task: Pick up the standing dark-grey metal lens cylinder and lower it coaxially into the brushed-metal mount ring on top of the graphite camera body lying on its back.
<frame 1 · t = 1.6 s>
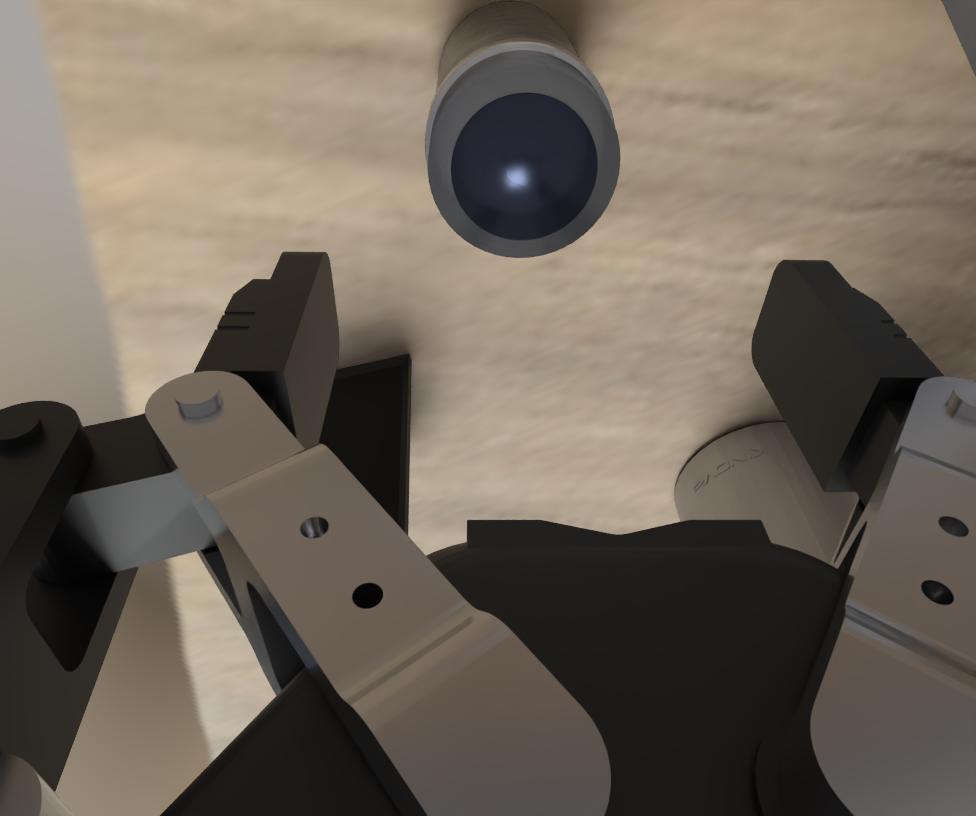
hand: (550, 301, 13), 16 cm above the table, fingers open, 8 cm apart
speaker: (368, 419, 35), on the table
lens: (507, 80, 25), on the table
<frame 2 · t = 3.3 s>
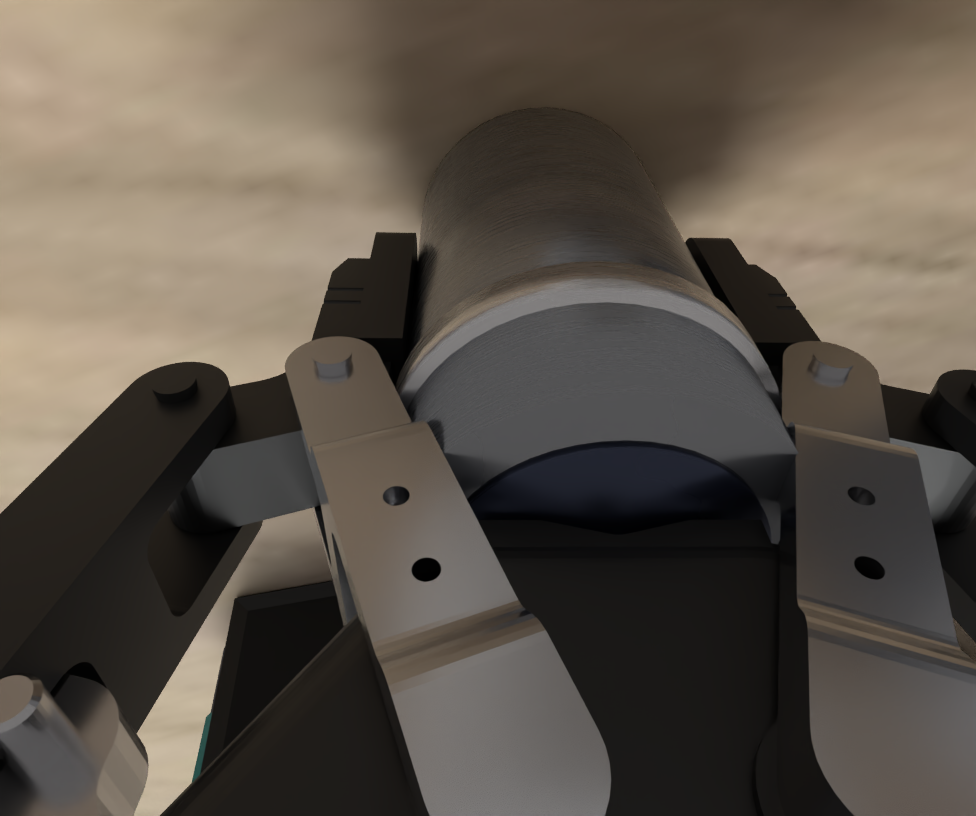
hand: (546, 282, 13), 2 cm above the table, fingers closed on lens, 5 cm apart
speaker: (330, 638, 25), on the table
lens: (537, 227, 15), on the table, touching gripper
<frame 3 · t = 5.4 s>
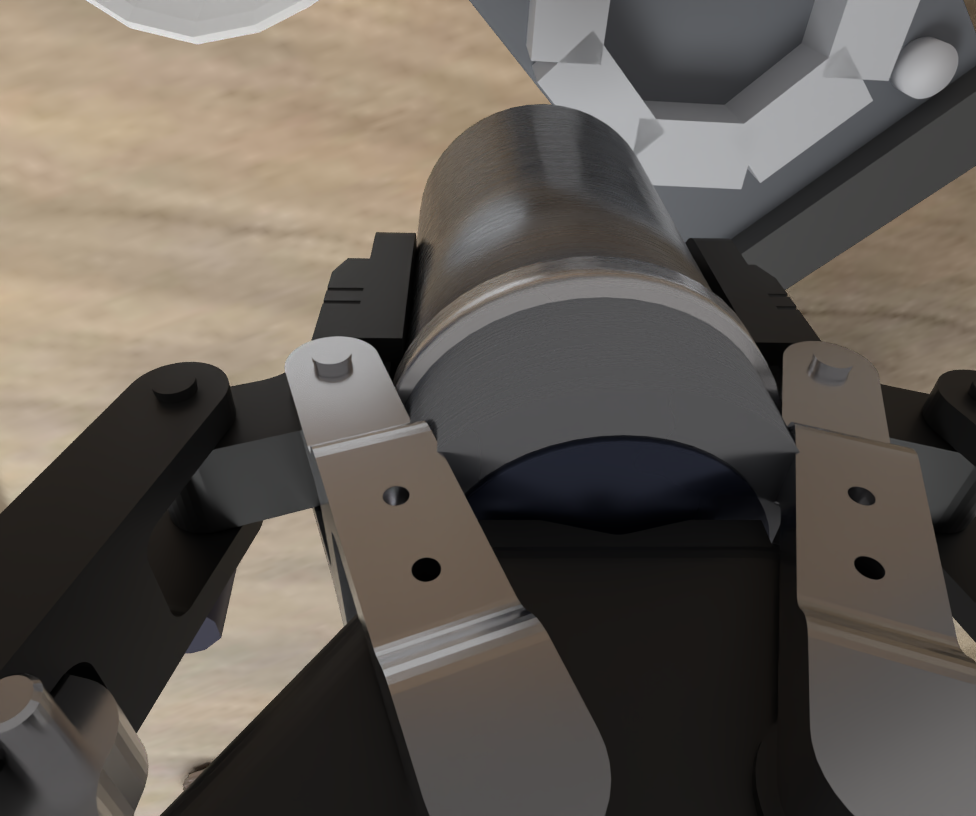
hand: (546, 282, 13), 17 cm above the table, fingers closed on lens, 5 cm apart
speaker: (214, 491, 40), on the table
lens: (535, 225, 15), point 14 cm above the table, touching gripper
camera body: (706, 24, 25), on the table
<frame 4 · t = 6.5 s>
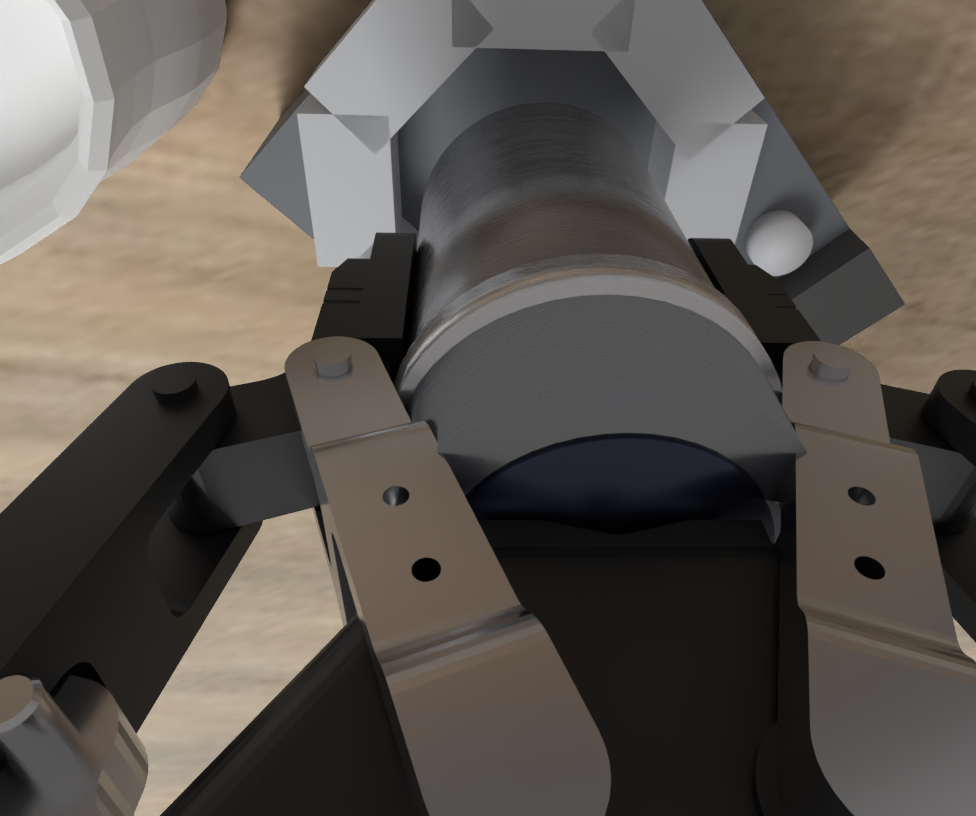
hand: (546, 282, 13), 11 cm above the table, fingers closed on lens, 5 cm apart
lens: (536, 223, 15), point 9 cm above the table, touching gripper
camera body: (563, 169, 23), on the table
when the fingers open (8 cm above the table, at t = 7.6 s): lens stays where it is, resting on camera body.
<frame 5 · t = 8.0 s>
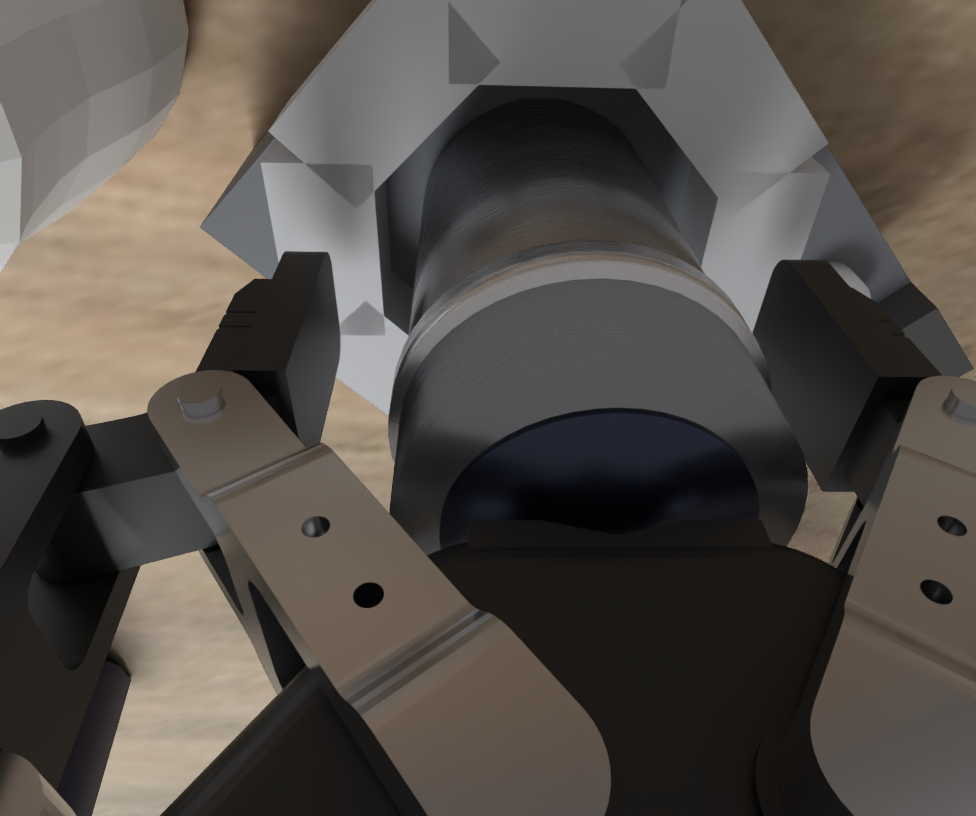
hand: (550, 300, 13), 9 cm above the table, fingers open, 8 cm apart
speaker: (89, 663, 36), on the table
lens: (535, 216, 15), point 5 cm above the table, touching camera body
camera body: (575, 203, 20), on the table
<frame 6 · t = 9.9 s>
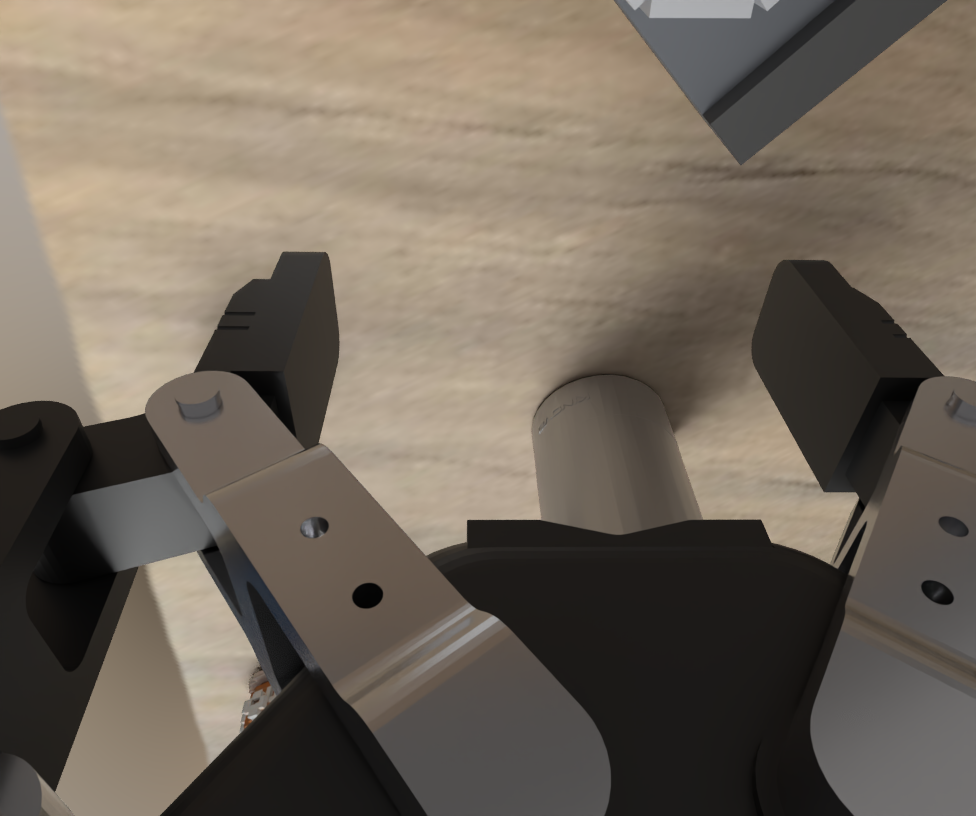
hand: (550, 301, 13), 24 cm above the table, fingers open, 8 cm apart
decorative ornament: (292, 679, 69), on the table
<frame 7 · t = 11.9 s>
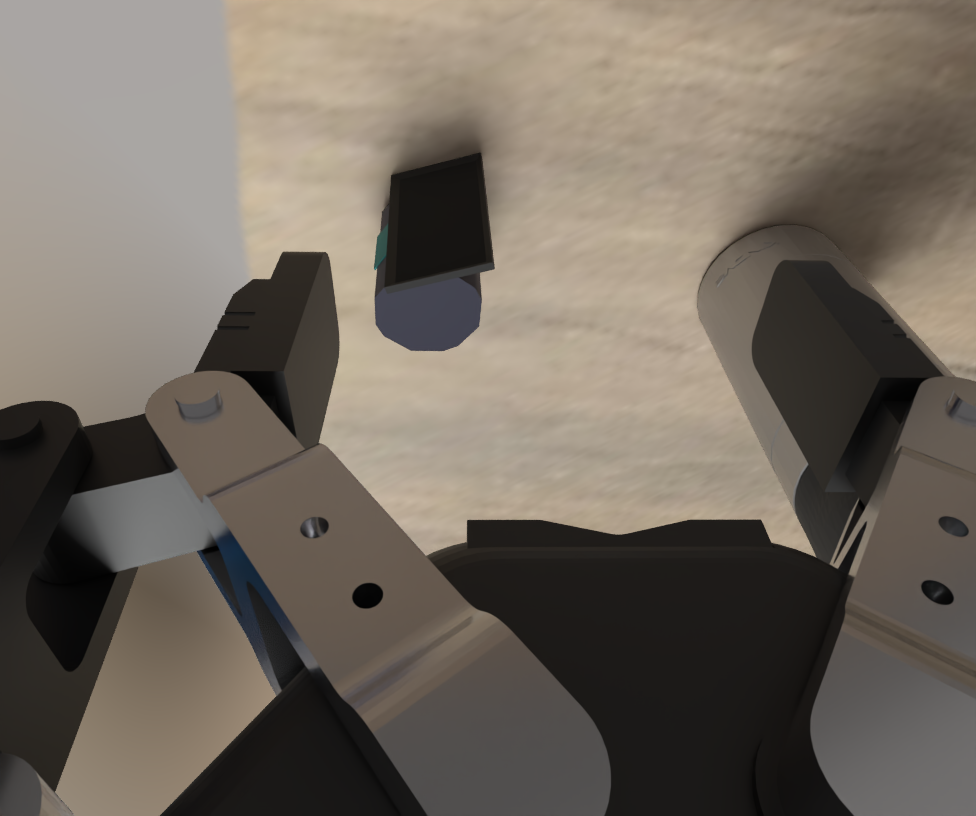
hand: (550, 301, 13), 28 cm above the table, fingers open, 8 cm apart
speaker: (441, 221, 41), on the table
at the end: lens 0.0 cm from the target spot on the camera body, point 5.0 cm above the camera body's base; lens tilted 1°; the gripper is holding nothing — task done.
